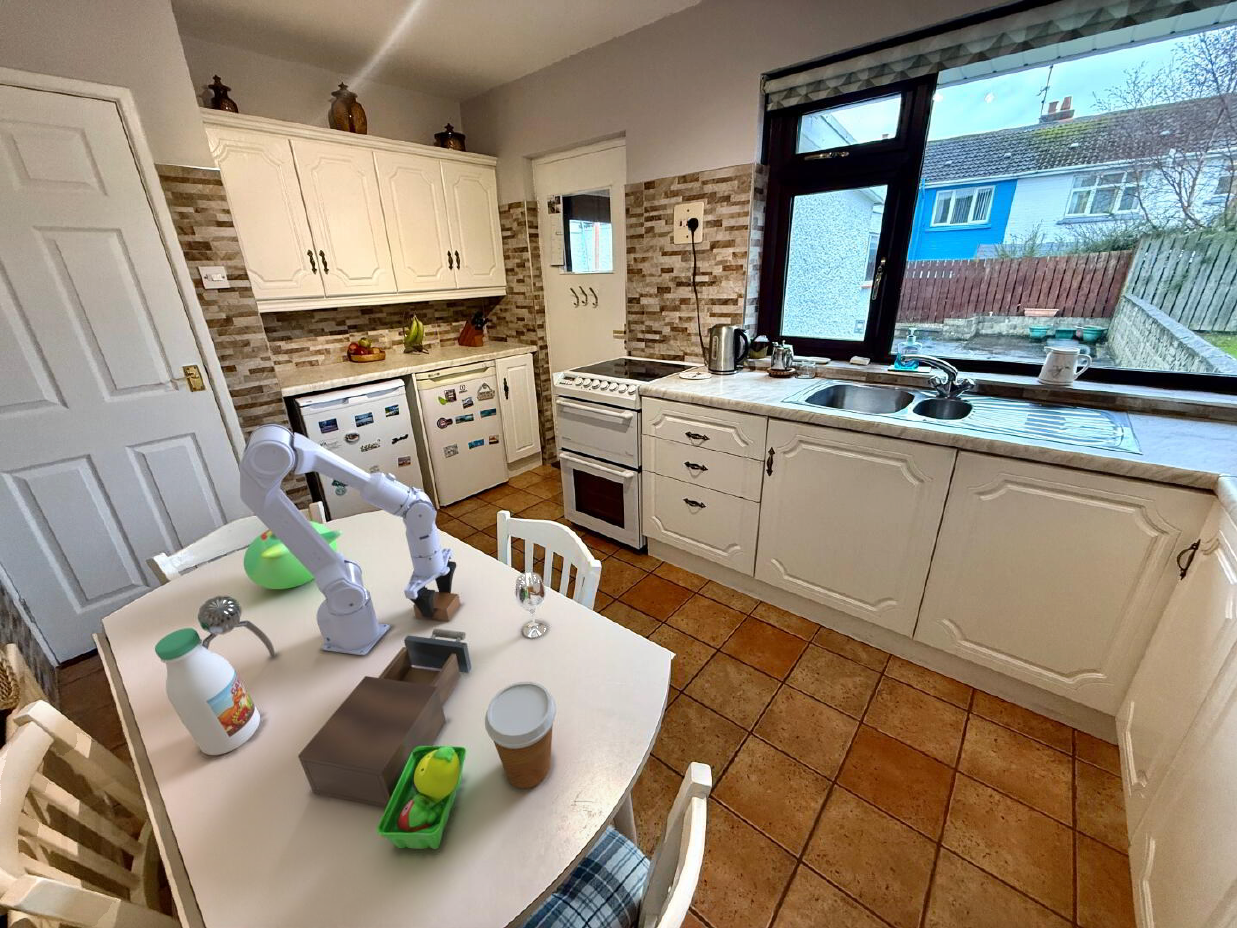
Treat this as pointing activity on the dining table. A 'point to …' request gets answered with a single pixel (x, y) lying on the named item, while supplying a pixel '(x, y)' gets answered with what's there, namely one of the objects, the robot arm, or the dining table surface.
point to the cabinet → (372, 740)
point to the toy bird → (280, 560)
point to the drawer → (431, 661)
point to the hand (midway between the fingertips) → (437, 604)
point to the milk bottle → (206, 693)
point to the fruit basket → (423, 797)
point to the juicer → (226, 620)
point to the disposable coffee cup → (522, 731)
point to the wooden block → (442, 606)
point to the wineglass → (530, 600)
